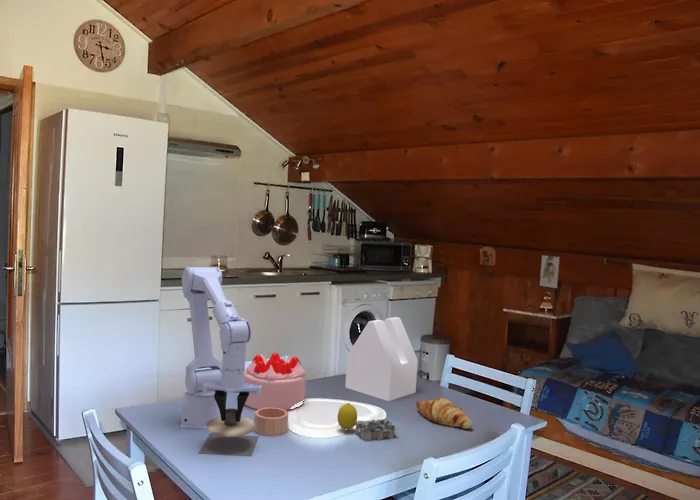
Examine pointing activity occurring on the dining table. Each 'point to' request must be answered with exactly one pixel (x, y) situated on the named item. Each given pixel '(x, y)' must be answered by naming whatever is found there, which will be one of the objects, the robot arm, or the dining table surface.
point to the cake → (275, 382)
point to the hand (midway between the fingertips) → (230, 420)
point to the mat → (229, 445)
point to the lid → (230, 425)
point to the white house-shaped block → (382, 361)
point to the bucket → (271, 421)
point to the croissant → (444, 413)
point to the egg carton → (375, 429)
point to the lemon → (347, 416)
